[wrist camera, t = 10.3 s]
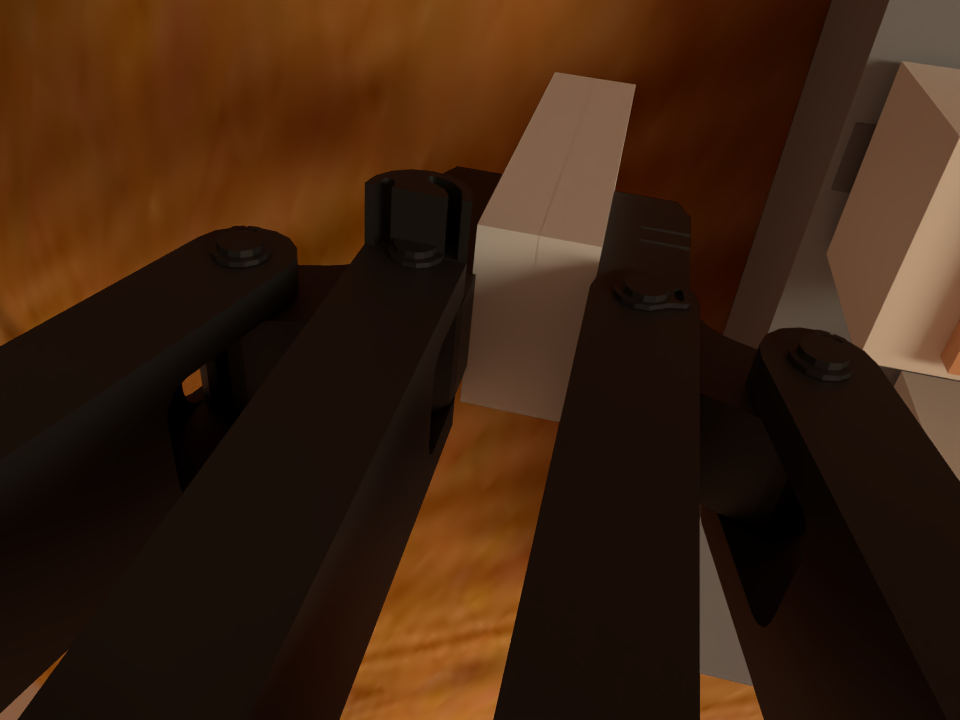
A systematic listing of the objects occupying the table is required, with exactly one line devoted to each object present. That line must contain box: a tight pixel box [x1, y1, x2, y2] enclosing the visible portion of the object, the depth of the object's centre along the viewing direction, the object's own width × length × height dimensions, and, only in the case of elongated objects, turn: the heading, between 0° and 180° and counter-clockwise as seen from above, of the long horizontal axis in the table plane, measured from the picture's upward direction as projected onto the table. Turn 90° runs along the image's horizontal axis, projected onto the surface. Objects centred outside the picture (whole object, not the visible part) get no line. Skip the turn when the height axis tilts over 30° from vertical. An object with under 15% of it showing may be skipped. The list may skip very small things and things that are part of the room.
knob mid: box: [894, 371, 960, 481], centre depth 17 cm, size 3×4×4 cm
